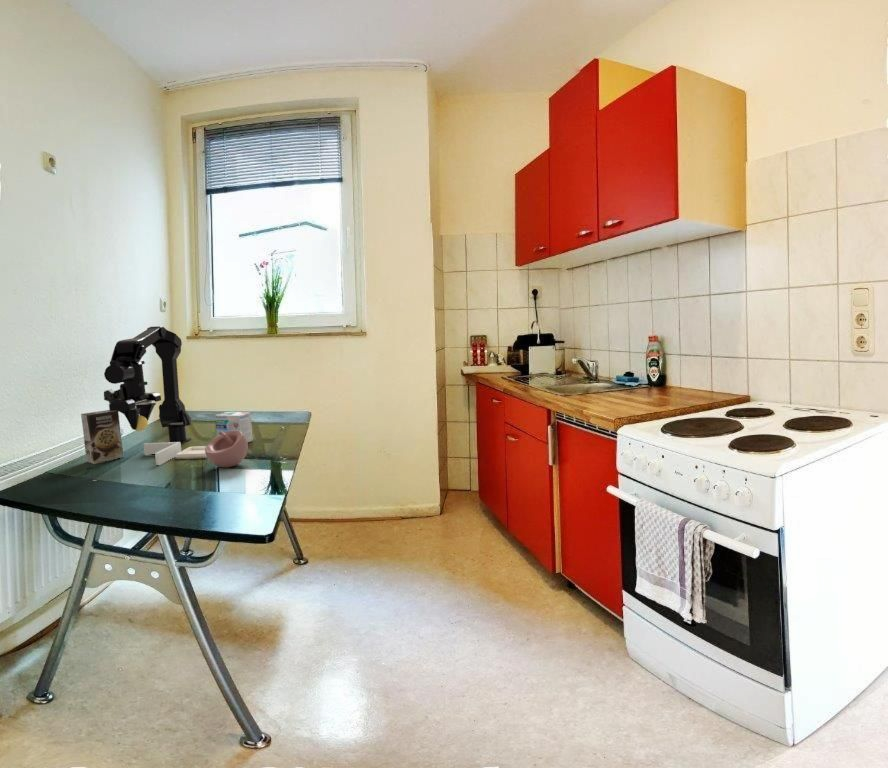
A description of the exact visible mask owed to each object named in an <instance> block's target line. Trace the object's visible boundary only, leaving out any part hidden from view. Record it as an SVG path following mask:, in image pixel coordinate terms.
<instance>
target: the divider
mask: <svg viewBox="0 0 888 768" xmlns="http://www.w3.org/2000/svg"><path fill="white" fill-rule="evenodd" d="M142 445H143V452H144V455H145V454H155V455H154V456H155V465H159V466H161V465H163V464H164V463H166V462H169V461H171V460H173V459H174V458H175V454H177V453H179V452H181V451H182V443H180V442H168V441H166V442H145V443H143V444H142ZM172 458H173V459H172ZM170 459H171V460H170ZM168 460H169V461H168Z"/></svg>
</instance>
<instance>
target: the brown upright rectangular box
mask: <svg viewBox="0 0 888 768" xmlns="http://www.w3.org/2000/svg"><path fill="white" fill-rule="evenodd" d="M80 416H81V424H82V433H83V441H84V442H83V443H84V450H85V459H86V462H87V463H90V464H93V465H96V464H100V463H105V461H106V462H109V461H113V460H114V459H115V460H118V458H120V459H122V458H121V457H124V451H123V450H124V449H123V442H122V432H121V424H120V415H119V412H118V411H110V410H109V409H107V410H101V411H100V410H99V411H93V412H86V413H81V414H80Z"/></svg>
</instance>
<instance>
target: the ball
mask: <svg viewBox="0 0 888 768" xmlns="http://www.w3.org/2000/svg"><path fill="white" fill-rule="evenodd" d="M148 425H149V420H148V421H147V419H146V418H145V417H144V416H140V414H139V419H138V425H137V429H135V430H134V431H137V432H140V431H141V432H142V431H144V430H145V429H147V427H148ZM130 428H131V429H132V427H131V426H130Z"/></svg>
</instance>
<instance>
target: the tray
mask: <svg viewBox="0 0 888 768" xmlns="http://www.w3.org/2000/svg"><path fill="white" fill-rule="evenodd" d="M206 447H207V445H202V446H201V445H199V446H196V445H195V446H189V447H187V448H185V449H182V450H181V452H179V453H177V454H175V457H174V458H175V460H189V459H190V460H191V459H192V460H193V459H195V460H196V459H208V458H207V456H206V453H205V449H206Z"/></svg>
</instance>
